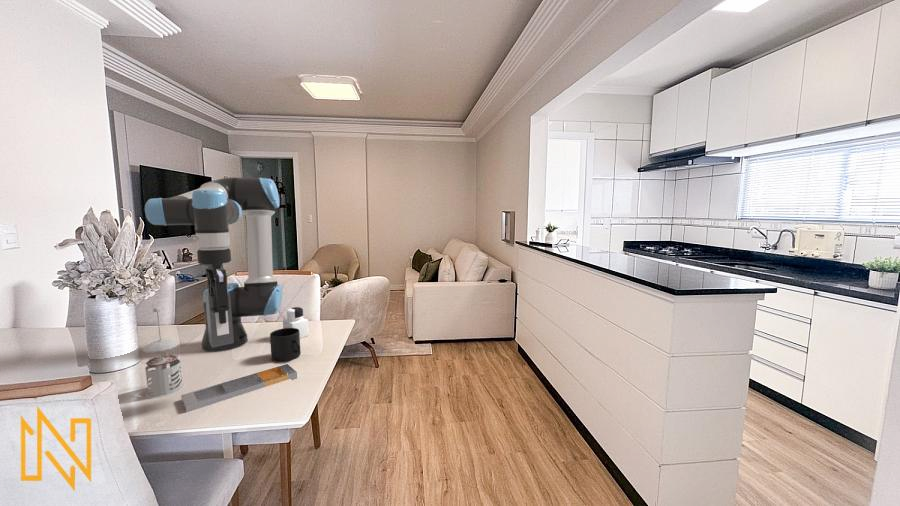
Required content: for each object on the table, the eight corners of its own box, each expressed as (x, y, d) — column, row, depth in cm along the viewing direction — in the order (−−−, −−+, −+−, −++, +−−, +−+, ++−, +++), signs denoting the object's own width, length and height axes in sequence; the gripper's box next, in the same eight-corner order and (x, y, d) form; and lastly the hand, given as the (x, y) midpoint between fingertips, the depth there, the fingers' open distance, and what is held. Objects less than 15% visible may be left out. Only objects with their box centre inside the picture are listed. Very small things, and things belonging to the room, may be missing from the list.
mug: (288, 365, 119) (287, 339, 118) (265, 358, 124) (263, 334, 123) (311, 355, 127) (310, 331, 126) (288, 349, 133) (287, 326, 132)
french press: (137, 403, 96) (127, 314, 93) (153, 384, 106) (144, 303, 103) (181, 396, 100) (173, 309, 96) (192, 378, 110) (185, 299, 107)
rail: (181, 402, 96) (180, 395, 96) (287, 369, 116) (287, 363, 116) (186, 414, 91) (185, 406, 91) (297, 377, 110) (296, 371, 110)
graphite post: (209, 342, 99) (204, 293, 97) (229, 338, 102) (226, 290, 100) (212, 347, 95) (208, 296, 93) (234, 342, 98) (230, 293, 97)
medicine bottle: (299, 332, 151) (298, 305, 150) (309, 335, 147) (307, 307, 146) (283, 337, 145) (281, 308, 144) (293, 341, 141) (291, 311, 140)
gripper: (191, 246, 99) (199, 326, 102) (202, 252, 86) (211, 344, 89) (222, 244, 104) (229, 321, 107) (237, 250, 91) (244, 337, 94)
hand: (220, 331), depth 98 cm, fingers closed on graphite post, 5 cm apart
